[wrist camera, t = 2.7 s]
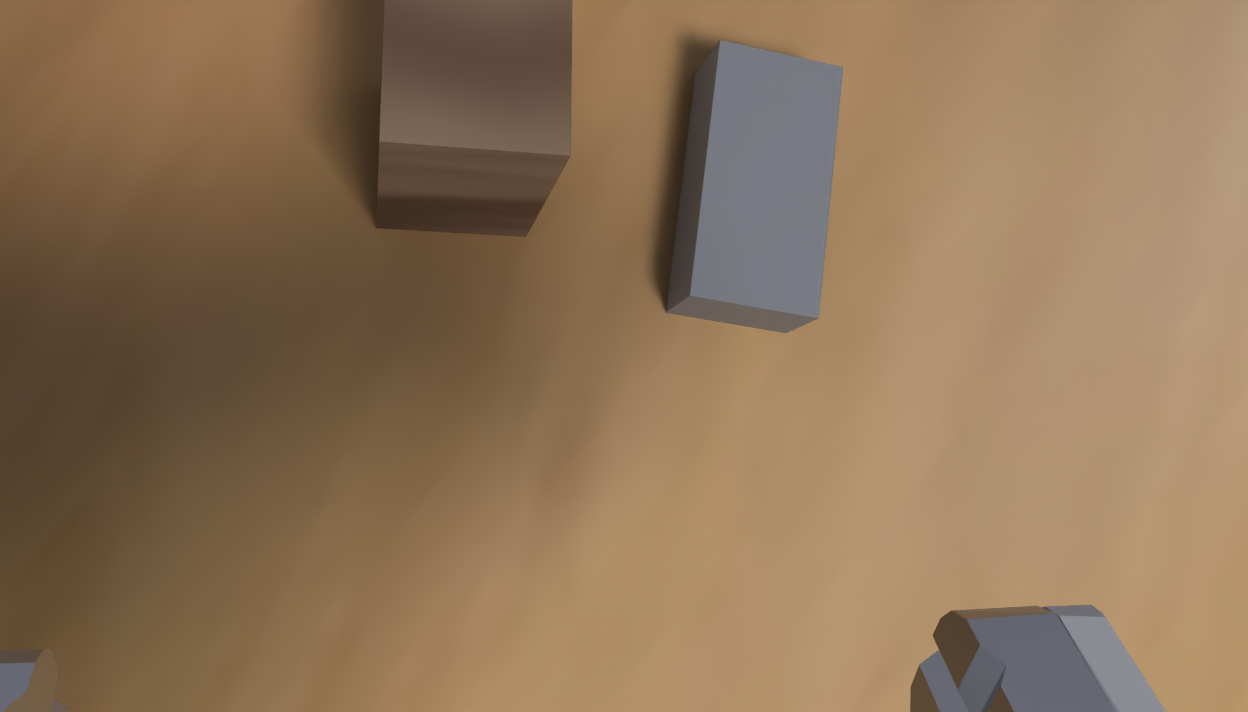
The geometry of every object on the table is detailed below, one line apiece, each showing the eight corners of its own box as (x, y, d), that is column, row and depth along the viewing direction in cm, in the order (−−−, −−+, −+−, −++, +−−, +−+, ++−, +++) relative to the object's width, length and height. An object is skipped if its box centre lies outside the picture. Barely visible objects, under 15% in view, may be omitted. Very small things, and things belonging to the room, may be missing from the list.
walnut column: (525, 236, 35) (570, 155, 27) (376, 227, 34) (379, 141, 26) (528, 97, 36) (572, -21, 28) (381, 84, 35) (385, -41, 27)
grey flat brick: (782, 334, 37) (818, 318, 34) (663, 313, 36) (690, 295, 33) (806, 101, 38) (843, 67, 35) (692, 77, 37) (720, 39, 35)
